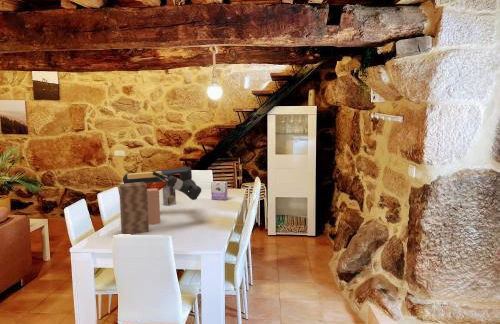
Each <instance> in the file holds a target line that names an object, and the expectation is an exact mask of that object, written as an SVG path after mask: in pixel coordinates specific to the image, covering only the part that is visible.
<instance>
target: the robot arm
mask: <svg viewBox="0 0 500 324" xmlns="http://www.w3.org/2000/svg"><path fill="white" fill-rule="evenodd" d="M158 171H161V172H162V175H161V174H158V173H156V172H158ZM149 172H153V173H152V174H153V175H155V176H158V177H149V178H137V179H127V174H132V173H133V172H132V171H130V172H129V171H128V172H126V173H125V174H124V175H123V177H122V183H123V184H126V183H137V182H144V183H146V184H152V183H156V184H157V183H163V182H164V183H165V186H169V187H171V188H173V189H175V191H179V192H181V193H182V194H184V195H186V197H188V198H189V199H190V200H191V201H192V200H193V201H195V200H198V198H199V196H200V194H201V193H202V188H201V186H199V185H197V183H196V182H195V180H193V175H192V168H191V167H190V166H181V167H177V168H176V167H175V168H169V169H157V170H151V171H149ZM175 175H179V178H178V177H176V176H175Z"/></svg>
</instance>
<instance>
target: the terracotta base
mask: <svg viewBox="0 0 500 324" xmlns="http://www.w3.org/2000/svg"><path fill="white" fill-rule="evenodd" d="M147 199H148V223H149V226H150V225H157V224H161V208H160V207H161V206H160V205H161V204H160V202H161V201H160V190H159V189H158V188H157V187H153V188H147Z"/></svg>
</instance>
